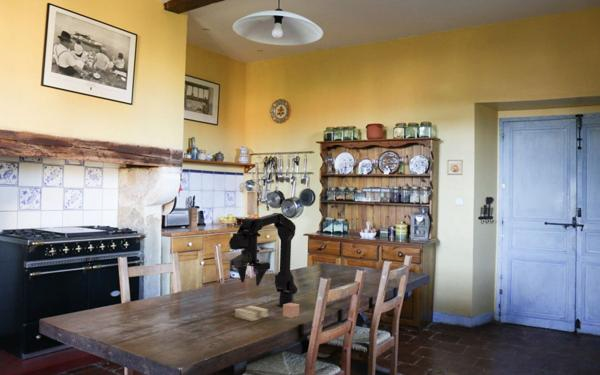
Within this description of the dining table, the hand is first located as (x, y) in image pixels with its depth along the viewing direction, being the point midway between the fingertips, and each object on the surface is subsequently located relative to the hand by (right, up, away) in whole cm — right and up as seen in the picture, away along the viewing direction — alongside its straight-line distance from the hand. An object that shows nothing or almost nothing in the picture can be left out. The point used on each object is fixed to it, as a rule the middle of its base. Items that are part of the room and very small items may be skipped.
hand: (250, 283), depth 207 cm
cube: (+18, -14, +2) cm, 23 cm away
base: (+1, -14, -1) cm, 14 cm away
